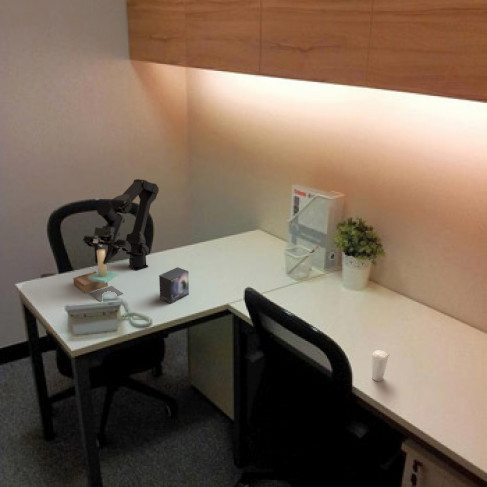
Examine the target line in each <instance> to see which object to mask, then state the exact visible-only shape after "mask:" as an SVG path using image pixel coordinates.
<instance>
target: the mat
mask: <svg viewBox="0 0 487 487" xmlns="http://www.w3.org/2000/svg"><path fill="white" fill-rule="evenodd" d="M107 291H111V292H115V293H116V294H117V296H116V297H118V296H119V297H120V296H122V295H123V294H124V293H123V292H122V291H120V290H119V289H118V288H115V287H114V286H113V285H110V286H107V287H103V288H100V289H97V290H94V291H91V292H88V293H89V295H90V296H91V297H92V298H94V299H96V300H97V301H98V302H103V301H102V294H103V293H104V292H107Z"/></svg>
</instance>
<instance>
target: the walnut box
mask: <svg viewBox="0 0 487 487" xmlns="http://www.w3.org/2000/svg"><path fill="white" fill-rule="evenodd" d="M97 272H98V271H96V270H95V271H91V272H88V273H85V274H81V275H78V276H74V277H73V278H72V282H73V286H75V287H76V288H77V289H78V290H80V291H81V292H83V293H84V294H87V293H90V292H94V291H97V290H100V289H103V288H106V287H109V286H108V282H107V283H101V282H97V281H93V280H89V279H88V277H89V276H91V275H93V274H95V273H97Z"/></svg>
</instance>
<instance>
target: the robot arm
mask: <svg viewBox="0 0 487 487" xmlns="http://www.w3.org/2000/svg"><path fill="white" fill-rule="evenodd" d="M159 188H160V187H159V186H158V185H157V183H155V182H154V183H153V182H150V181H147V180H145V179H140V178H136V179H133V182H132V183H131V184H130V186H129V187H128V188H126V190H125V191H124V192H123V193H122V194H119V195H117V196H115V197H113V198H112V199H111V200H107V199H106V200H104V202H102V203H100V205H98V206H97V208H96V213H97V214H98V215H99V217H100V218H101V219H102V220H104V222H106V223H105V225H103V226H102V227H97V226H95V227H94V230H93V232H94V233H93V235H89V234H88V235H87V234H86V235H84V236H83V237H82V242H83V243H84V244H85V245H86V246H87V247H90V248H94V262H95V263H96V264H98V259H97V250H98V249H104V248H103V246H107V250H106V252H105V253H106V256H105V259H104V262H103V264H107V263H108V262H110V260H112V258H113V257H114V256H116V255H117V254H120V252H121V250H122V252H125V253H126V255H129V258H128V263H129V264H128V267H129V268H131V269H133V271H134V270H135V271H139V270H142V269H145V268H148V267H149V265H148V264H147V256H148V255H149V252H150V248H149V246H147V245H146V243H147V242H146V238H145V235H144V234H145V231H146V230H145V229H146V225H147V220H148V217H149V213H150V208H151V204H152V203H153V202H154V201H155V200H156V198H157V196H158V194H159V191H160V190H159ZM136 198H139V203H138V206H137V212H136V217H135V220H134V224H133V228H132V231H131V232H130V233H127V234H126V238H125V239H119V238H118V237H119V236H120V235H121V233H120V230H121V227H122V224H123V223H125V222H126V220H125V217H124V215H126V214H129V213H130V210H131V209H132V203H133V201H134V200H136ZM121 214H123V215H121ZM96 237H97V238H96Z"/></svg>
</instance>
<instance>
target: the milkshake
mask: <svg viewBox="0 0 487 487" xmlns="http://www.w3.org/2000/svg"><path fill="white" fill-rule="evenodd" d="M371 357H372V360H371V361H372V362H371V363H372V367H371V369H372V370H371V378H372V380H373V381H375V382H383V380H384V377H385V372H386V368H387V363H388V359H389V357H390V354H387V352H385V351H384V350H381V349H380V350H379V349H377V350H375V351H373V352H372V356H371Z"/></svg>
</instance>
